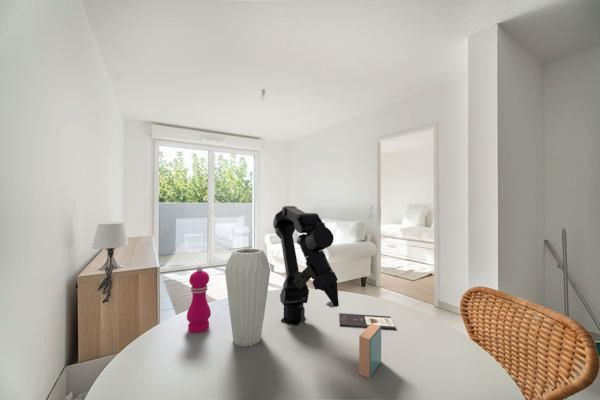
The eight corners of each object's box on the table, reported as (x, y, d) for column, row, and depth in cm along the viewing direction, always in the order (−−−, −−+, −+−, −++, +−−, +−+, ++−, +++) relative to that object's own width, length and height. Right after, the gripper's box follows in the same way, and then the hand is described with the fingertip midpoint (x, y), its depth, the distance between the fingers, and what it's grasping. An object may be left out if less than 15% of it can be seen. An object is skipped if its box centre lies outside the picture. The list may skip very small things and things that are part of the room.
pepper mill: (191, 336, 78) (191, 270, 78) (183, 327, 83) (184, 266, 84) (214, 329, 83) (215, 266, 83) (205, 321, 88) (206, 262, 88)
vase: (215, 339, 76) (216, 250, 77) (252, 324, 86) (253, 245, 86) (239, 358, 67) (241, 257, 67) (278, 339, 76) (279, 251, 77)
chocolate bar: (339, 313, 94) (390, 316, 92) (339, 315, 94) (390, 319, 92) (339, 324, 85) (396, 328, 83) (339, 327, 85) (396, 331, 83)
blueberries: (339, 303, 107) (339, 298, 108) (342, 309, 99) (342, 304, 100) (323, 303, 107) (323, 298, 108) (325, 309, 99) (325, 304, 100)
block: (359, 374, 61) (359, 336, 61) (371, 357, 68) (371, 323, 68) (370, 378, 60) (370, 339, 60) (381, 361, 66) (381, 326, 66)
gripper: (292, 264, 84) (311, 311, 80) (284, 266, 66) (309, 327, 62) (323, 250, 84) (344, 296, 81) (324, 249, 66) (350, 308, 62)
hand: (336, 306), depth 71 cm, fingers closed
